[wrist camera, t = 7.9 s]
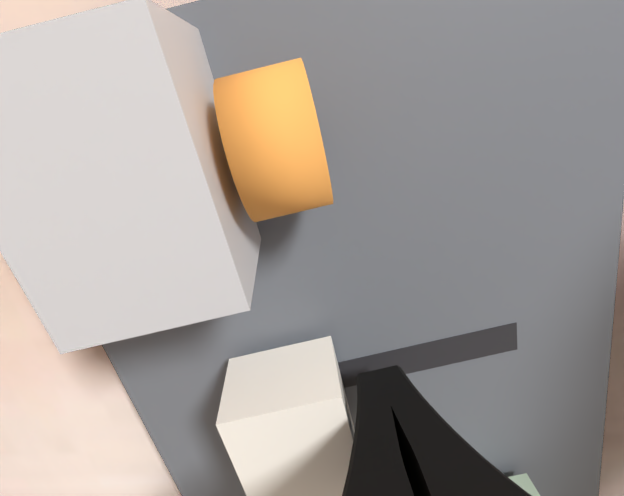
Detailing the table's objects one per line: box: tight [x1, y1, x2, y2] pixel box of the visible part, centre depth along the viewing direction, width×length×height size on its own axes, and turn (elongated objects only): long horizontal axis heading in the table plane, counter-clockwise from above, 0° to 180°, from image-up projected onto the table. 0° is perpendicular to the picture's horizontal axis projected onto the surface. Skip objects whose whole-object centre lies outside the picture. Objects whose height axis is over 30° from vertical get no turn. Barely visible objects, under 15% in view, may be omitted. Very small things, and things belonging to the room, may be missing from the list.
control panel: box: [0, 0, 624, 496], centre depth 11 cm, size 15×21×5 cm
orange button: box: [213, 58, 333, 222], centre depth 8 cm, size 2×3×3 cm, turn 13°
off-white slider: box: [216, 336, 355, 496], centre depth 11 cm, size 3×4×2 cm
